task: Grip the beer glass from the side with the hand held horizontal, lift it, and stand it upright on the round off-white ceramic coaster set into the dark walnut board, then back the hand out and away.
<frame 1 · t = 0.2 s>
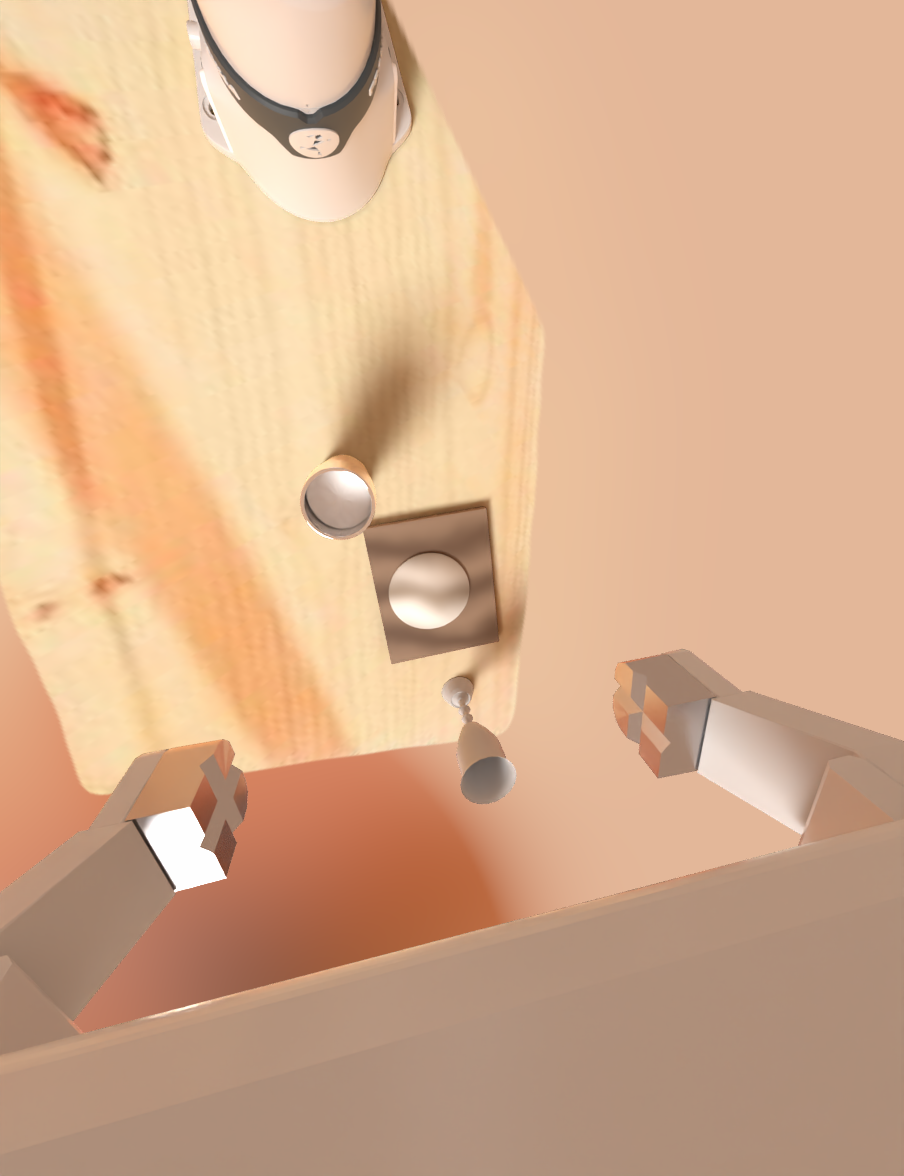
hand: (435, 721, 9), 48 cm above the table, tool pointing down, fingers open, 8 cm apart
walnut board: (435, 586, 60), on the table
beer glass: (344, 480, 52), on the table
chalice: (457, 690, 67), on the table
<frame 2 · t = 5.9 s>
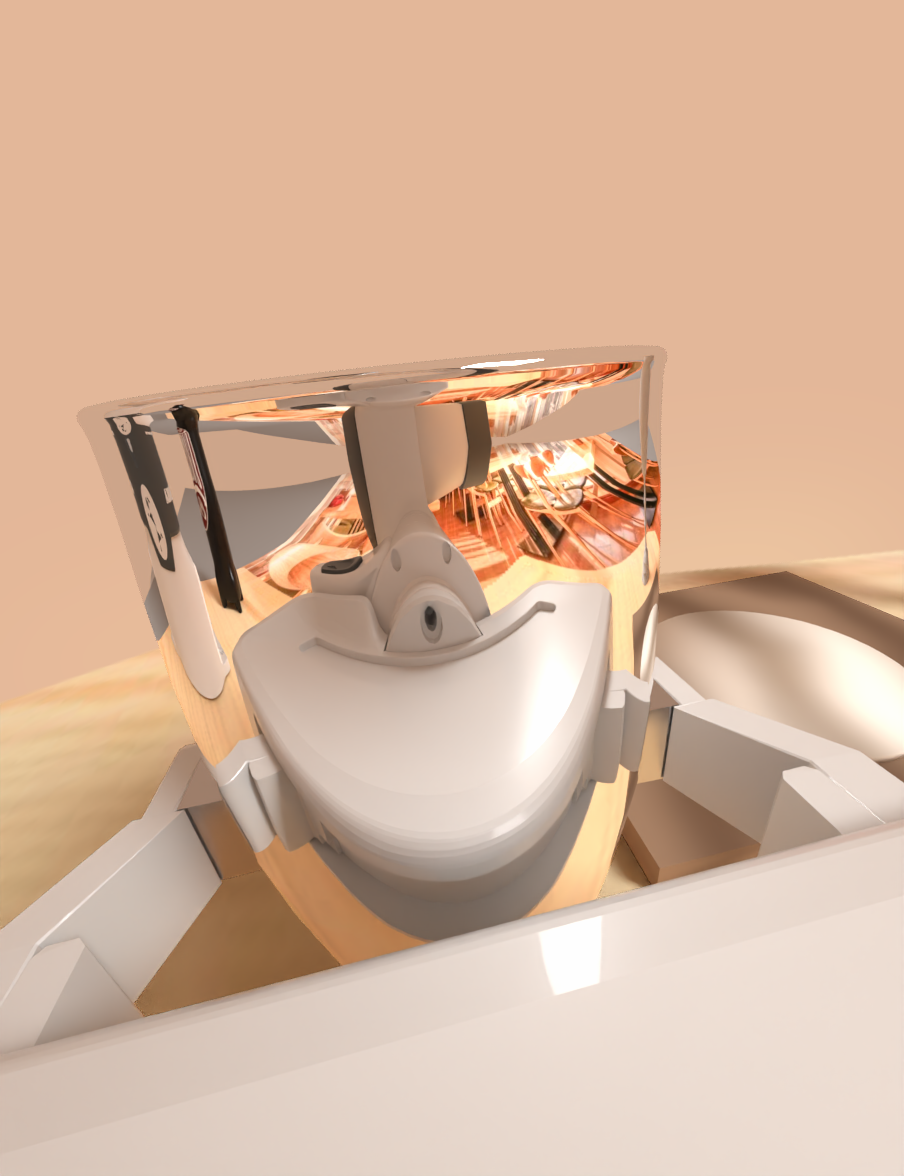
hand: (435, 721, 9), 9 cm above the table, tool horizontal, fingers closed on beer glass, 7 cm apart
walnut board: (743, 681, 22), on the table
beer glass: (476, 987, 12), on the table, touching gripper
when the fingers open (11 cm above the table, at t = 11.0 s): beer glass moves 2 cm, resting on walnut board.
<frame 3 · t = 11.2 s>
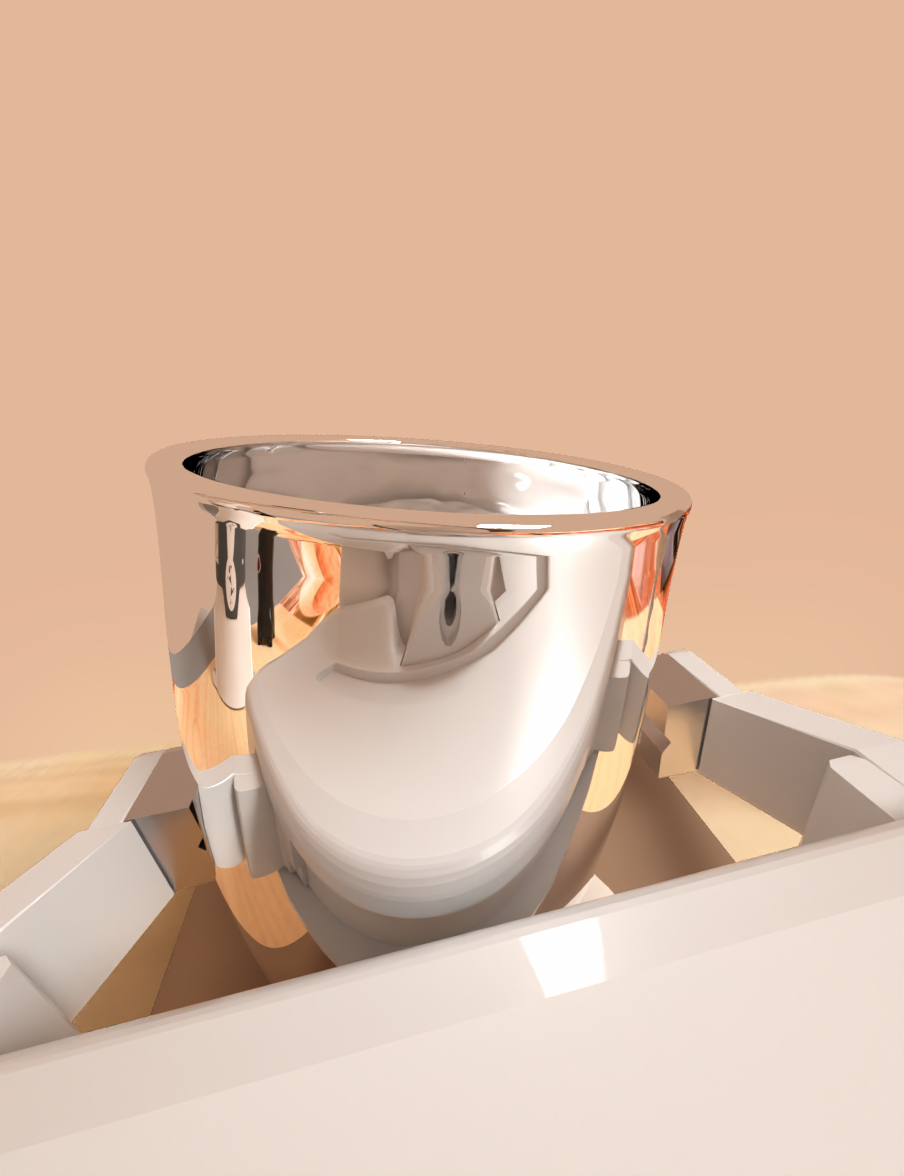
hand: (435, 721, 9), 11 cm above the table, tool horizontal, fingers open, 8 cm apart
walnut board: (476, 991, 14), on the table
beer glass: (400, 1026, 12), point 2 cm above the table, touching gripper, walnut board
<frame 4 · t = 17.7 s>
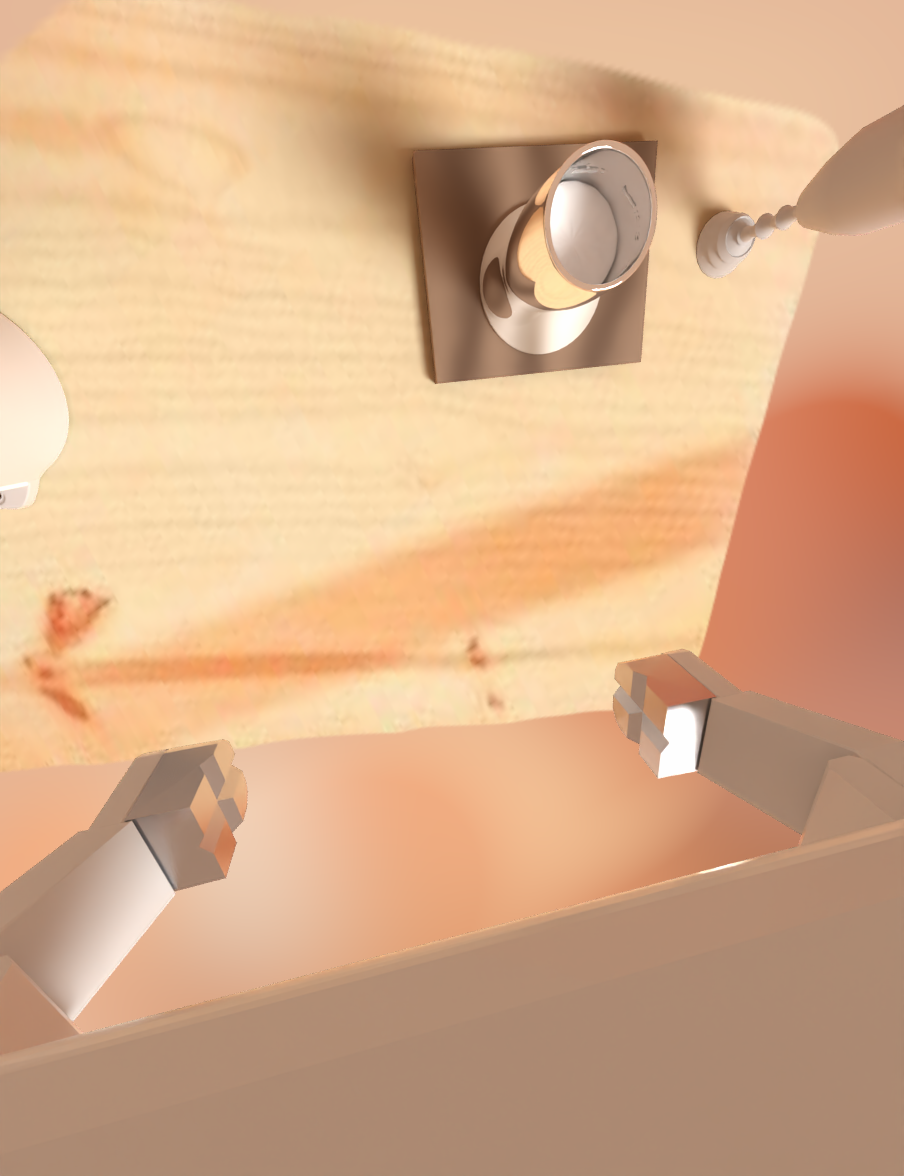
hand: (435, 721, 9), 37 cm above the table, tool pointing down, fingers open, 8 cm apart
walnut board: (536, 272, 38), on the table
beer glass: (515, 286, 37), point 1 cm above the table, touching walnut board
chalice: (720, 246, 40), on the table
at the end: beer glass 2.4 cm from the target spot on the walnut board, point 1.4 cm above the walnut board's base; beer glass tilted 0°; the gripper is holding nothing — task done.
